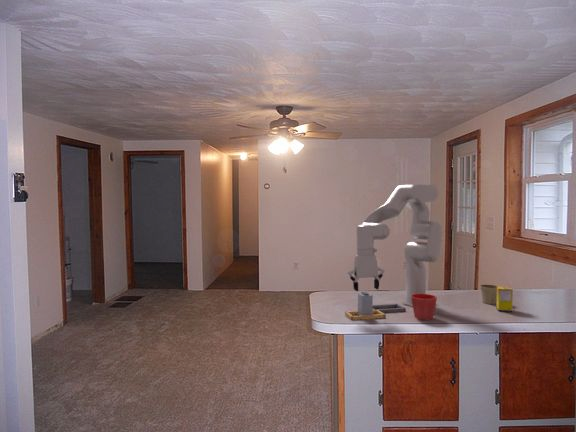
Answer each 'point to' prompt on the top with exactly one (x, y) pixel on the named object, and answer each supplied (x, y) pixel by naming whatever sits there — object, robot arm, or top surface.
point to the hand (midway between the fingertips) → (366, 289)
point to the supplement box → (504, 299)
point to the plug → (365, 304)
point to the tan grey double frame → (379, 312)
